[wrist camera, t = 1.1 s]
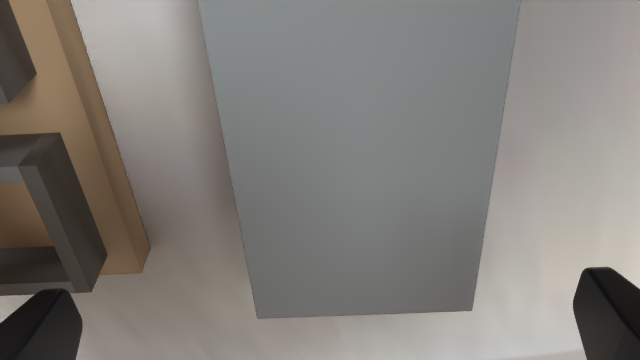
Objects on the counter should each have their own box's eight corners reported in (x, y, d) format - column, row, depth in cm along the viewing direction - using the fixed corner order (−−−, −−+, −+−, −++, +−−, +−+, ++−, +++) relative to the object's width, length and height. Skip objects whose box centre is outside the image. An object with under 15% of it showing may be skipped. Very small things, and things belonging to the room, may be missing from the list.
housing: (477, -132, 15) (535, -96, 11) (444, 212, 22) (471, 311, 18) (220, -115, 15) (183, -74, 11) (268, 219, 22) (257, 318, 18)
